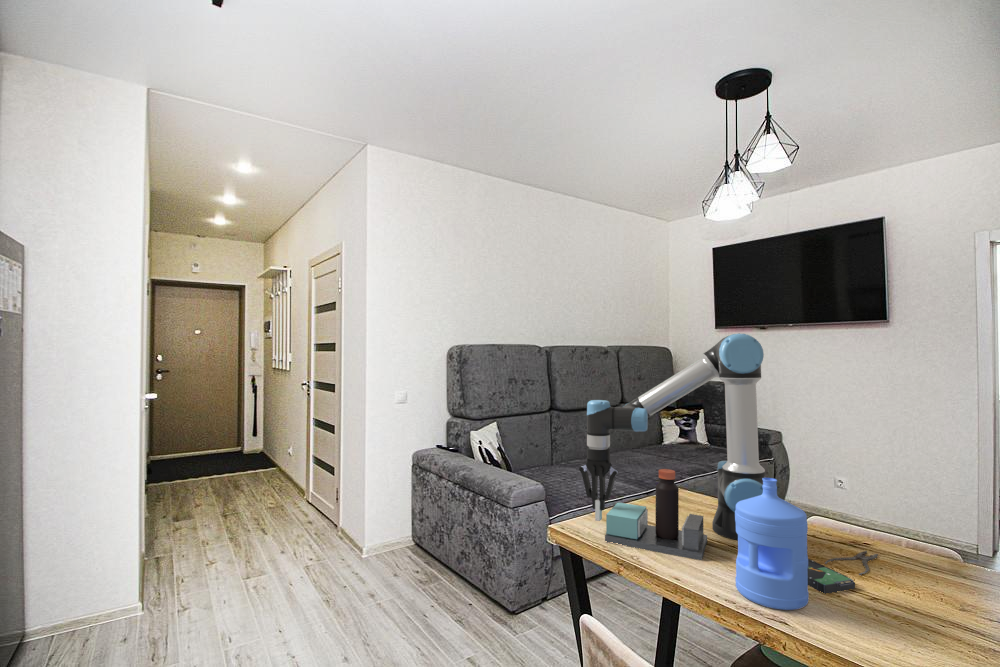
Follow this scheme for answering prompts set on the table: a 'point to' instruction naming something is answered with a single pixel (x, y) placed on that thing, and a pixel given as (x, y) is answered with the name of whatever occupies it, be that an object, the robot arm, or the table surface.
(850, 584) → the disk drive
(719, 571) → the table surface
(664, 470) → the vinegar
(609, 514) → the block
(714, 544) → the table surface
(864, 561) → the pliers
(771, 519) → the water jug
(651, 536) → the vise base
